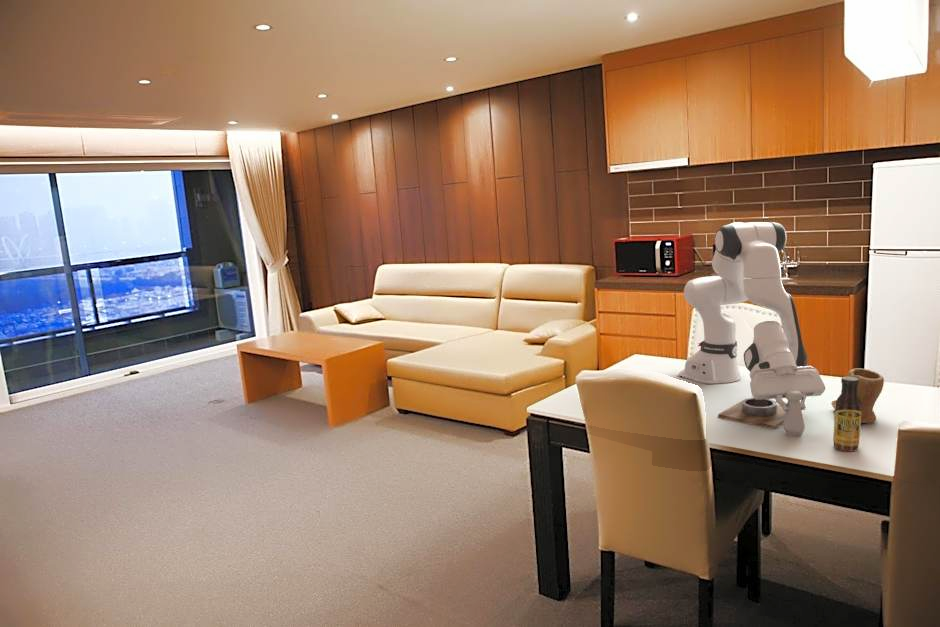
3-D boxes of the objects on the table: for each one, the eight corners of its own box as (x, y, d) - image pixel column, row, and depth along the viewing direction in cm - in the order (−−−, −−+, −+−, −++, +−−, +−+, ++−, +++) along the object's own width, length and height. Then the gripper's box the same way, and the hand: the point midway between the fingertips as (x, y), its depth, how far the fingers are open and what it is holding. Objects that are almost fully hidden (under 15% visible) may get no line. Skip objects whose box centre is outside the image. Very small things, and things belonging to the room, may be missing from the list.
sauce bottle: (834, 451, 183) (835, 381, 179) (831, 443, 189) (832, 374, 185) (862, 453, 181) (864, 381, 177) (858, 444, 186) (859, 375, 183)
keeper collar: (736, 413, 215) (736, 404, 214) (751, 404, 221) (751, 395, 221) (767, 419, 208) (767, 409, 207) (782, 410, 214) (782, 401, 214)
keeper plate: (718, 417, 216) (718, 414, 215) (745, 402, 227) (745, 399, 227) (774, 428, 202) (774, 425, 202) (800, 412, 214) (800, 409, 214)
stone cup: (887, 426, 197) (889, 376, 194) (842, 425, 200) (843, 377, 198) (872, 409, 211) (873, 362, 209) (830, 408, 215) (831, 363, 212)
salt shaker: (779, 431, 200) (779, 389, 198) (799, 429, 200) (799, 387, 198) (788, 438, 194) (788, 395, 192) (808, 437, 194) (808, 393, 192)
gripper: (812, 370, 205) (827, 412, 197) (744, 375, 206) (756, 416, 198) (819, 360, 200) (835, 402, 192) (749, 365, 201) (762, 407, 193)
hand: (794, 409), depth 195 cm, fingers closed on salt shaker, 3 cm apart
